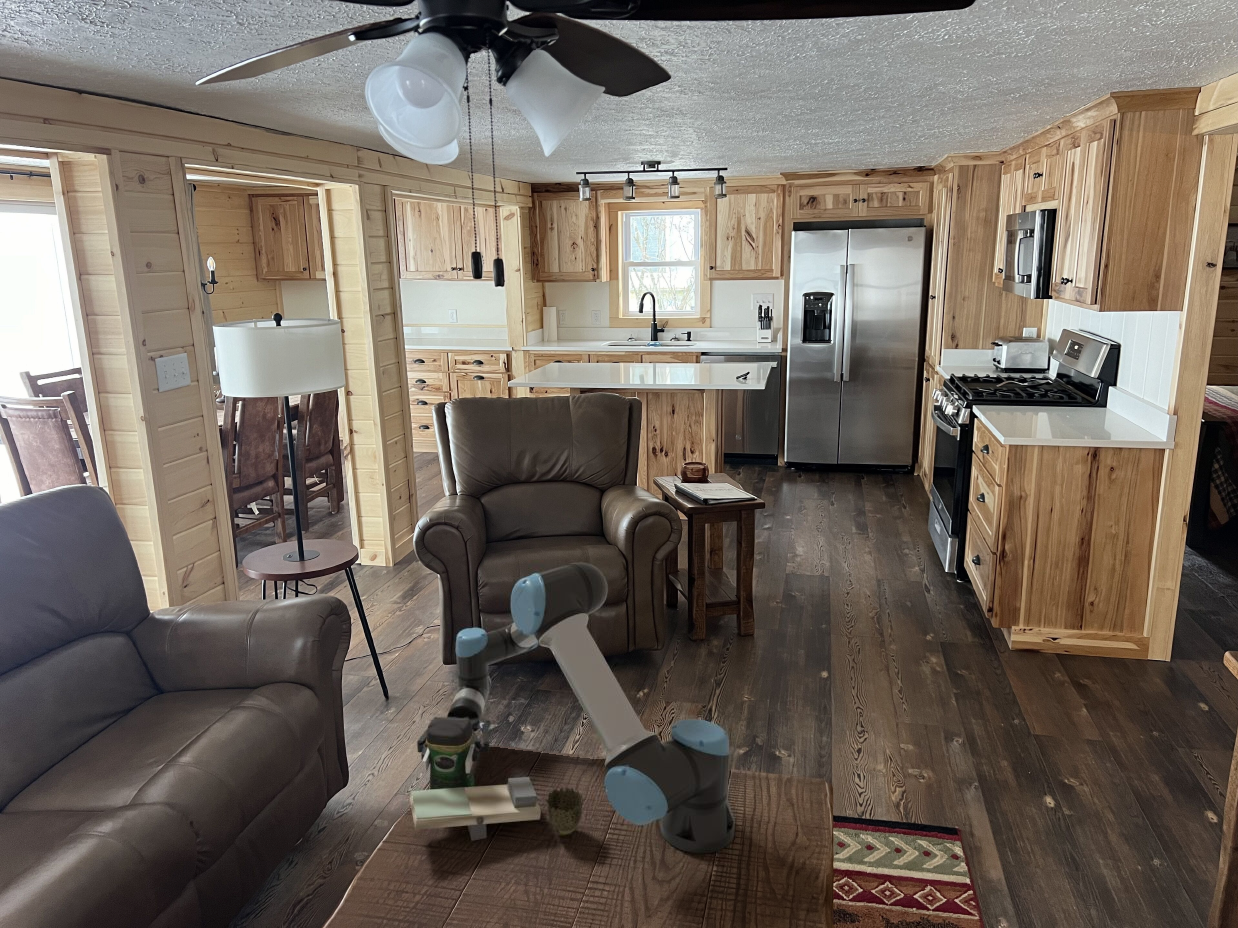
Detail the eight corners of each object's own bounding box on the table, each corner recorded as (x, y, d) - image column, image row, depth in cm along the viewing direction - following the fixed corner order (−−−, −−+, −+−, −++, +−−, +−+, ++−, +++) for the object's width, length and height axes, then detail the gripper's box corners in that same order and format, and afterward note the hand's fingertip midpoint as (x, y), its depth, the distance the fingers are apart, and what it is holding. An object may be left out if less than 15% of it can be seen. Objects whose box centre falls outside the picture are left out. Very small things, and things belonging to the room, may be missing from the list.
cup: (578, 846, 172) (577, 811, 170) (542, 841, 173) (541, 806, 171) (586, 823, 179) (586, 789, 177) (552, 818, 180) (552, 784, 178)
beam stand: (486, 837, 174) (486, 820, 173) (471, 840, 173) (471, 823, 172) (480, 816, 181) (479, 800, 180) (465, 819, 180) (465, 802, 179)
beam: (540, 820, 175) (543, 801, 174) (415, 830, 166) (417, 810, 166) (527, 789, 185) (530, 771, 184) (409, 798, 176) (411, 778, 176)
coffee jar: (479, 788, 190) (476, 712, 186) (468, 811, 183) (465, 732, 178) (437, 785, 191) (433, 709, 187) (424, 806, 184) (420, 728, 179)
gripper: (511, 726, 203) (496, 783, 181) (421, 725, 203) (396, 782, 181) (510, 697, 201) (495, 751, 179) (420, 696, 201) (394, 750, 179)
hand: (445, 766), depth 180 cm, fingers closed on coffee jar, 8 cm apart
